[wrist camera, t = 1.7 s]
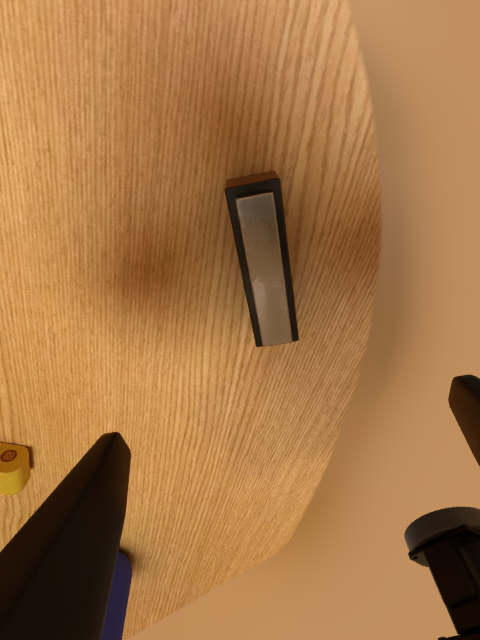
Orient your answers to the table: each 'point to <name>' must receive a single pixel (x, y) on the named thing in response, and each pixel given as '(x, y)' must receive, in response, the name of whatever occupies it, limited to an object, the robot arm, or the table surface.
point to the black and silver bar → (263, 256)
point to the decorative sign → (13, 468)
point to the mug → (118, 599)
